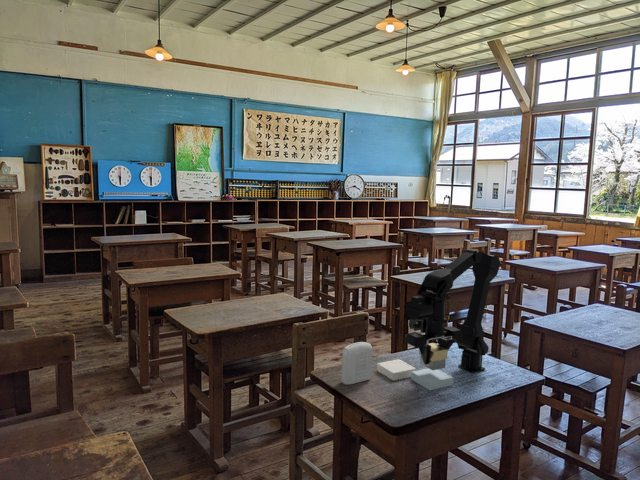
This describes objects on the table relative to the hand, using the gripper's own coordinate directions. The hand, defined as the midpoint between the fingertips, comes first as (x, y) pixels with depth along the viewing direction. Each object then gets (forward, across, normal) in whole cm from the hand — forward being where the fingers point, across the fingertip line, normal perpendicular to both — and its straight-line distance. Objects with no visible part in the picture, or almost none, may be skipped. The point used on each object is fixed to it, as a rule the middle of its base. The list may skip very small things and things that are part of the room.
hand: (432, 362), depth 152 cm
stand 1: (+6, +6, -10) cm, 14 cm away
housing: (+1, 0, 0) cm, 1 cm away
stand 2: (+6, 0, 0) cm, 6 cm away
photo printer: (+6, +21, -11) cm, 25 cm away
